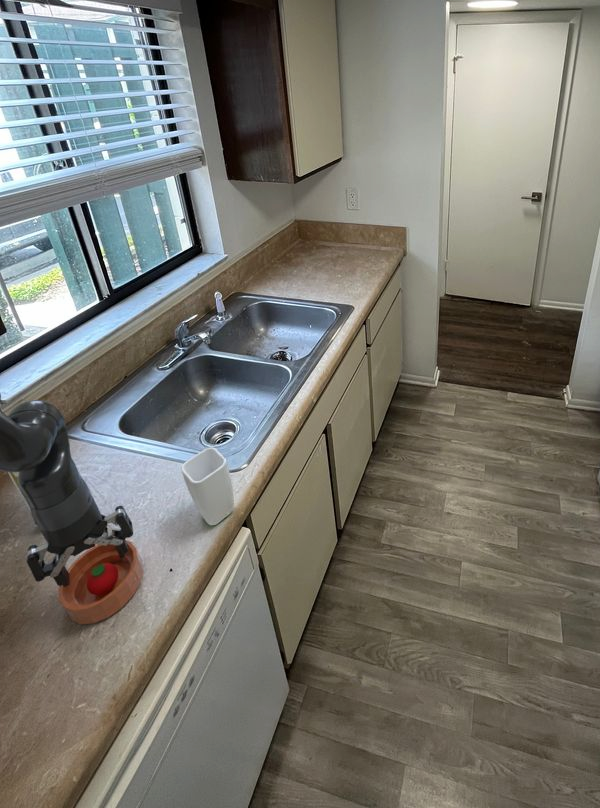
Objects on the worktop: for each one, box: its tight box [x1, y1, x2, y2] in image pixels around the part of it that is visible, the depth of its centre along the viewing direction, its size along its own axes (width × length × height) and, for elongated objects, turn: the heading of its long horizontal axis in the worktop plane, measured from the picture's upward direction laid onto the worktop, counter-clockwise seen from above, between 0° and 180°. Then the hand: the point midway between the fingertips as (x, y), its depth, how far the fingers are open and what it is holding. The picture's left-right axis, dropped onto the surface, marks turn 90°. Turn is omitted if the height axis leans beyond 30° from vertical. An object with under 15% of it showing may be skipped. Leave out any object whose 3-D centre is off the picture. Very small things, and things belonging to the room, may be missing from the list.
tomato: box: [87, 563, 118, 595], centre depth 81 cm, size 5×5×5 cm
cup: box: [180, 446, 235, 526], centre depth 92 cm, size 7×7×15 cm
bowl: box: [57, 539, 145, 625], centre depth 81 cm, size 12×12×5 cm
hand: (95, 567), depth 79 cm, fingers open, 8 cm apart
